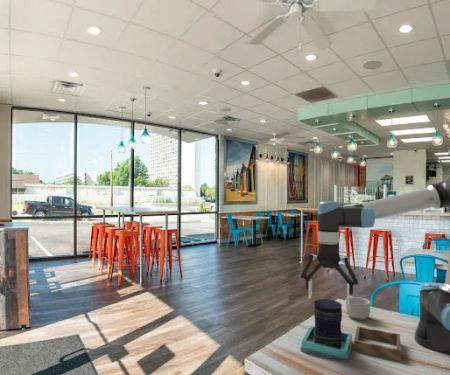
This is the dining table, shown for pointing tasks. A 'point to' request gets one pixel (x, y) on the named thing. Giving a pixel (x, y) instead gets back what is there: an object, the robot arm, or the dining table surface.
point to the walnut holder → (374, 348)
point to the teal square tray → (327, 346)
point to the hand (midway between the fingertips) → (328, 300)
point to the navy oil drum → (328, 322)
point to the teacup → (358, 308)
